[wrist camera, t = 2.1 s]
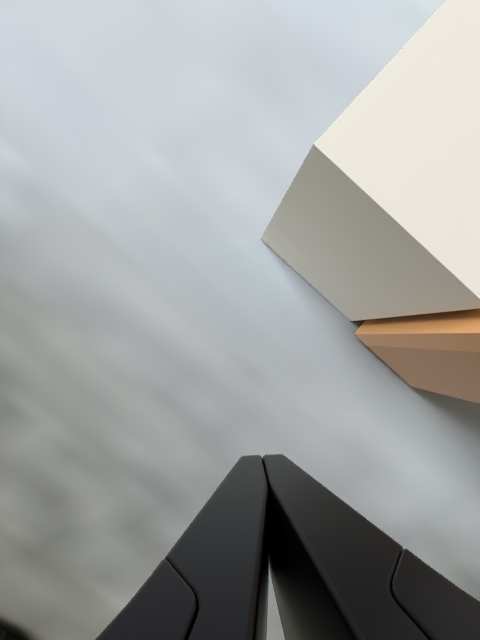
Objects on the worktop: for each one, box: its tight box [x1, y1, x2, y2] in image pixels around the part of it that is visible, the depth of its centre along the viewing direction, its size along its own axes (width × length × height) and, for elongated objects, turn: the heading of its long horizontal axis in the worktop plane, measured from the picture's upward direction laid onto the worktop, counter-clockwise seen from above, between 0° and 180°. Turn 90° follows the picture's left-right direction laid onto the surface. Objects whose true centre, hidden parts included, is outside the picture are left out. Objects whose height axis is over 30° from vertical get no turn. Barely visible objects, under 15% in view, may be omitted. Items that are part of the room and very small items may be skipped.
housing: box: [261, 0, 480, 321], centre depth 16 cm, size 10×6×10 cm, turn 138°
